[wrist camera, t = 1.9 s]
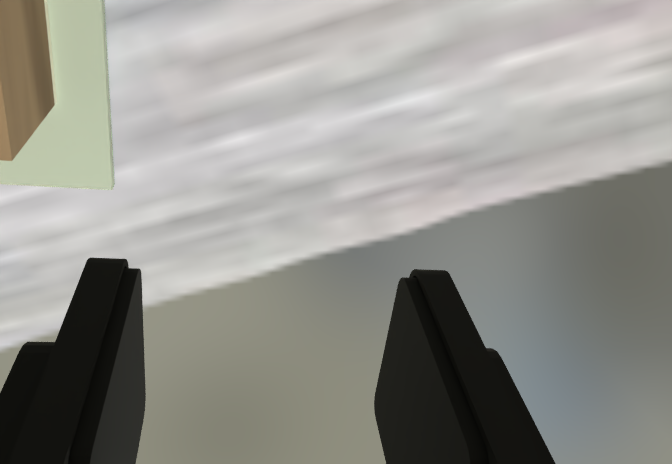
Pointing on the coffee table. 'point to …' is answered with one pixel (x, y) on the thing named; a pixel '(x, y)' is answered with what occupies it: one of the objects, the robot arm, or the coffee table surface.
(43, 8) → the walnut cube
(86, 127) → the rubber mat
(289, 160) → the coffee table surface
